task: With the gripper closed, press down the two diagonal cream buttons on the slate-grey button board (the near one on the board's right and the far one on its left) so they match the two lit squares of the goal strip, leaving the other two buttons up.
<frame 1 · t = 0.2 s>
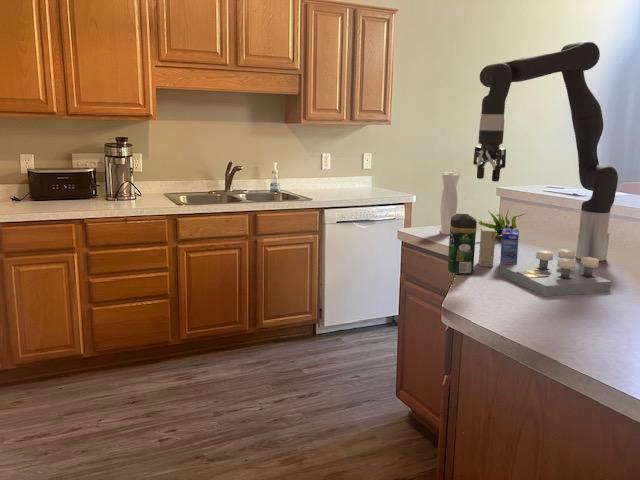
hand: (487, 179, 181), 29 cm above the counter, tool pointing down, fingers open, 8 cm apart
coffee jar: (459, 272, 179), on the counter
ink cartridge box: (507, 267, 186), on the counter
button a: (566, 258, 174), point 6 cm above the counter, slide at 0.0 cm
button c: (544, 260, 172), point 6 cm above the counter, slide at 0.0 cm
skincare box: (485, 265, 188), on the counter
button b: (589, 267, 165), point 6 cm above the counter, slide at 0.0 cm
board: (552, 282, 168), on the counter
button d: (566, 268, 163), point 6 cm above the counter, slide at 0.0 cm
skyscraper: (447, 234, 240), on the counter
decorative plant: (503, 243, 222), on the counter
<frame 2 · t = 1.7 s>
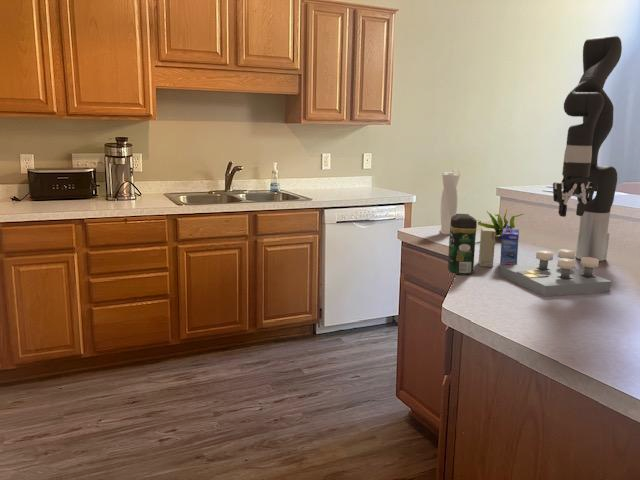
hand: (570, 215, 171), 19 cm above the counter, tool pointing down, fingers open, 5 cm apart
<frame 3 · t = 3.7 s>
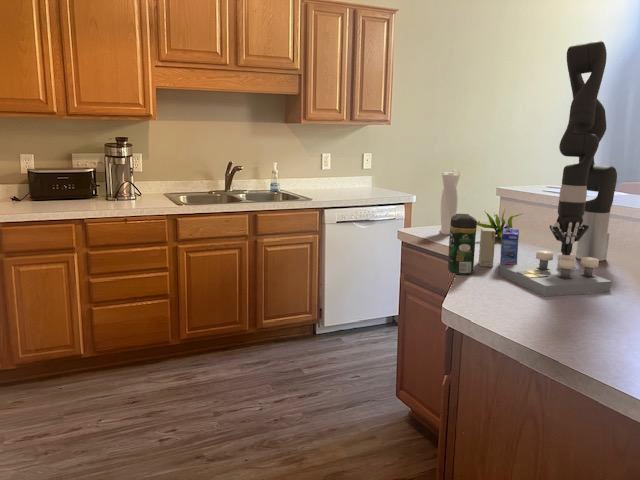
hand: (565, 254, 174), 7 cm above the counter, tool pointing down, fingers closed
button a: (565, 262, 174), point 5 cm above the counter, slide at 1.1 cm, touching gripper
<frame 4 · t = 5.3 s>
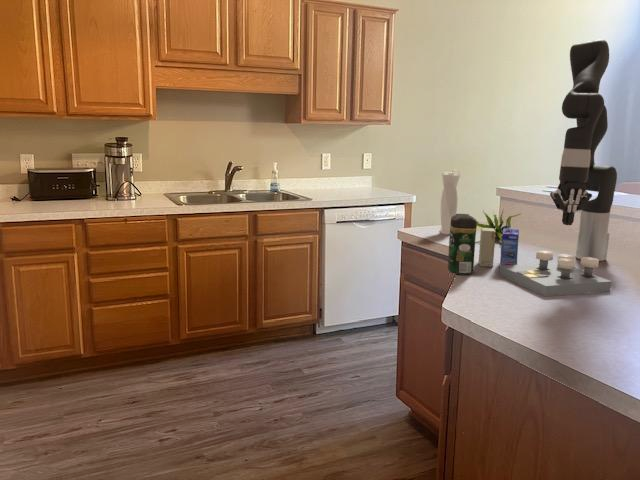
hand: (567, 224, 162), 18 cm above the counter, tool pointing down, fingers closed
button a: (565, 263, 174), point 4 cm above the counter, slide at 1.6 cm
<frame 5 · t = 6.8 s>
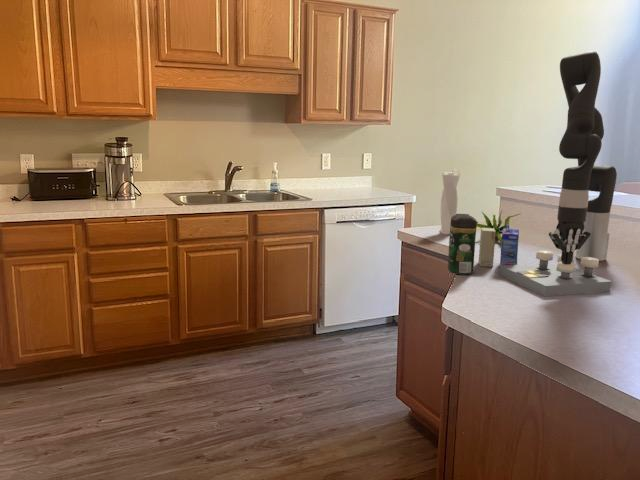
hand: (566, 263, 162), 7 cm above the counter, tool pointing down, fingers closed
button d: (565, 271, 163), point 5 cm above the counter, slide at 1.0 cm, touching gripper
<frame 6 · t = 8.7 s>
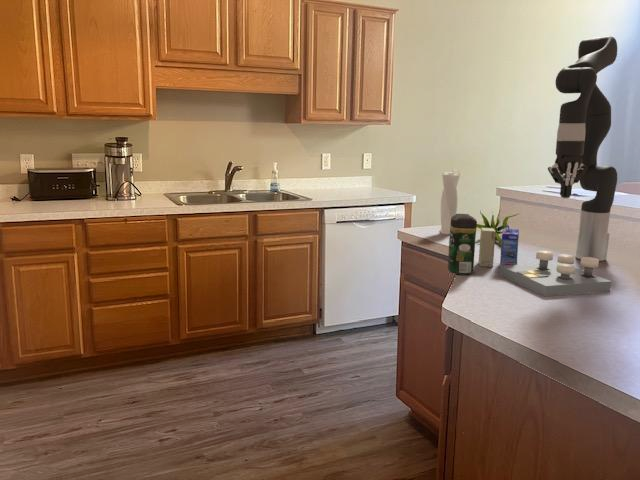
hand: (565, 197, 167), 25 cm above the counter, tool pointing down, fingers closed
button d: (565, 273, 163), point 4 cm above the counter, slide at 1.6 cm
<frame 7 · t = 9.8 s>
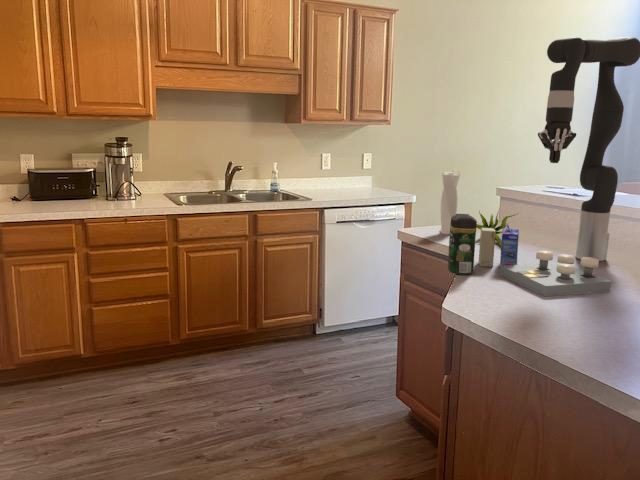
hand: (554, 162, 175), 35 cm above the counter, tool pointing down, fingers closed
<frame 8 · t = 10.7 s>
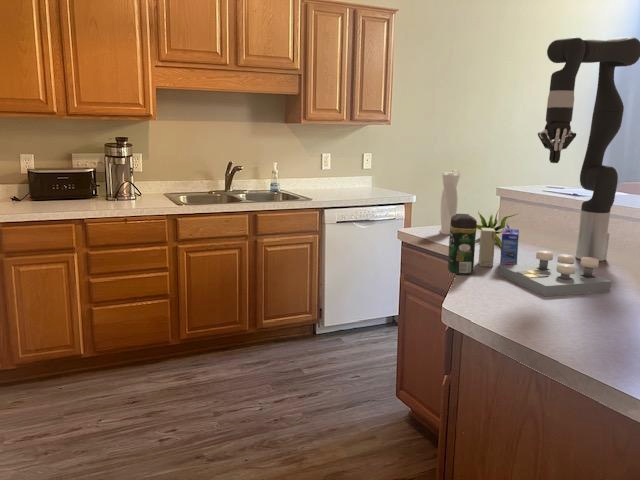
hand: (554, 162, 175), 35 cm above the counter, tool pointing down, fingers closed
at the end: button a slide at 1.6 cm; button d slide at 1.6 cm; button b slide at 0.0 cm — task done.
